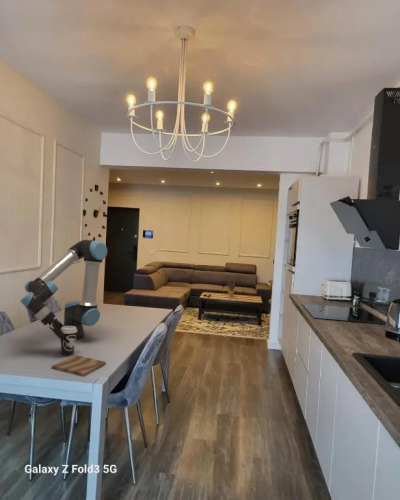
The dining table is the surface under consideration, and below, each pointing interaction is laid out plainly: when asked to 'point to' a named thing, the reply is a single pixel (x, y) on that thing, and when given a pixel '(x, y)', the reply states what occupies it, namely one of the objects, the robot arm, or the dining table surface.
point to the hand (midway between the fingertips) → (73, 343)
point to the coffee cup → (71, 334)
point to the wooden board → (78, 365)
